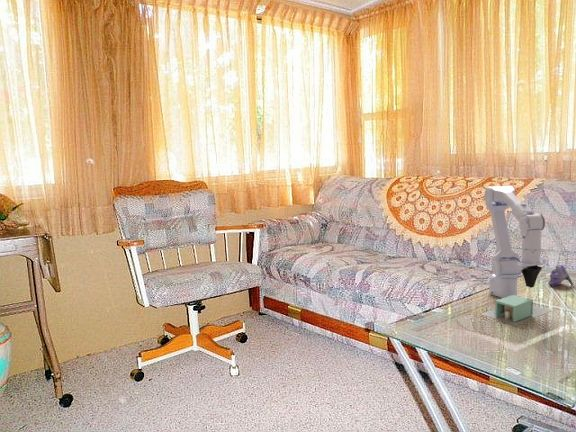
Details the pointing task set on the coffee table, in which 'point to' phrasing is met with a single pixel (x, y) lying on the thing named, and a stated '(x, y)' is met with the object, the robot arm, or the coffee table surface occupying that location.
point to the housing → (515, 306)
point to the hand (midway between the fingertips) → (530, 286)
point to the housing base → (535, 313)
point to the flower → (559, 276)
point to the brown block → (509, 310)
